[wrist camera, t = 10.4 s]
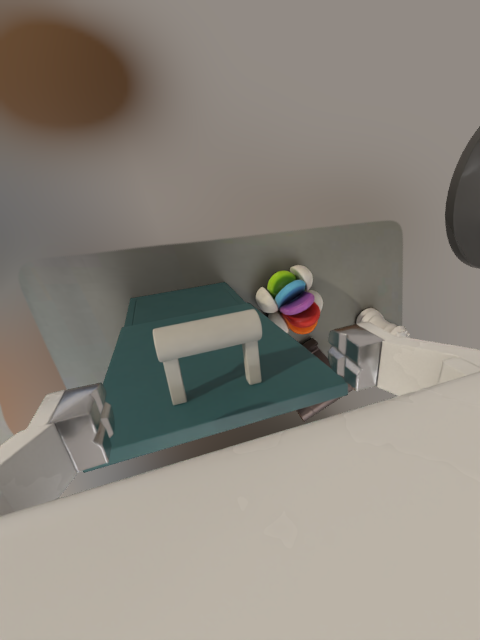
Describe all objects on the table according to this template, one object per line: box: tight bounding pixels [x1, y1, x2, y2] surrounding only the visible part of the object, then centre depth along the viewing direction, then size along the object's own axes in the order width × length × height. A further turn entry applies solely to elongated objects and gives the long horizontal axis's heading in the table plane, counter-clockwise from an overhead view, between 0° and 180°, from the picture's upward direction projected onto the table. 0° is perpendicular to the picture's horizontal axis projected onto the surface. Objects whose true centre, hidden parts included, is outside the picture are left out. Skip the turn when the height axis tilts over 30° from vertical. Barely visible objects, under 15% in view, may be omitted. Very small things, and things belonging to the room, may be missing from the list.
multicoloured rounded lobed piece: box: [256, 265, 323, 334], centre depth 39 cm, size 8×10×7 cm
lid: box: [83, 303, 348, 473], centre depth 20 cm, size 16×13×5 cm
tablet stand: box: [297, 338, 352, 421], centre depth 44 cm, size 9×8×8 cm
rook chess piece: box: [356, 308, 410, 337], centre depth 45 cm, size 4×4×8 cm
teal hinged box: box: [124, 282, 246, 327], centre depth 36 cm, size 16×13×10 cm
